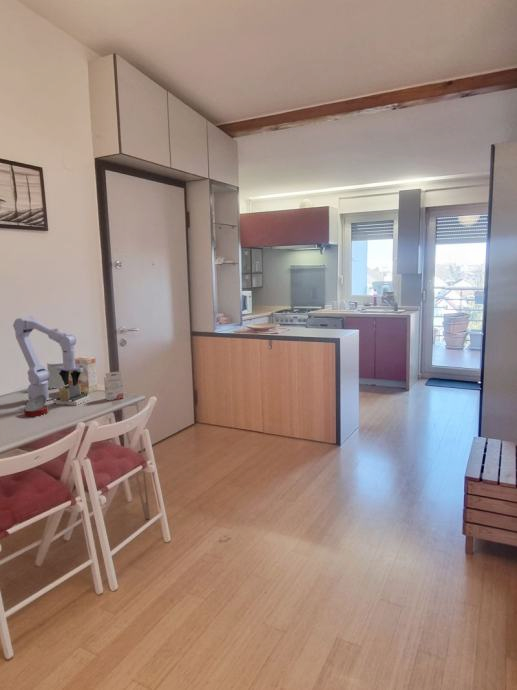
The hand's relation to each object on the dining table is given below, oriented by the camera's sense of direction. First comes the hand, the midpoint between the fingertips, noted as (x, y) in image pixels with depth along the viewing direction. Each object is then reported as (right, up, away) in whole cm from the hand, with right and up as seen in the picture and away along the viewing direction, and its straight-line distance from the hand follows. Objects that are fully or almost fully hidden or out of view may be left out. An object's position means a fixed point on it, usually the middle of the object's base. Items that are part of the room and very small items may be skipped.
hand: (70, 385), depth 233 cm
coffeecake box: (-3, -6, +23) cm, 24 cm away
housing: (0, -7, 0) cm, 7 cm away
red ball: (-8, -12, -19) cm, 24 cm away
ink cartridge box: (+20, -8, +6) cm, 23 cm away
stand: (0, -9, +1) cm, 9 cm away
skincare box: (-22, -5, +33) cm, 40 cm away
